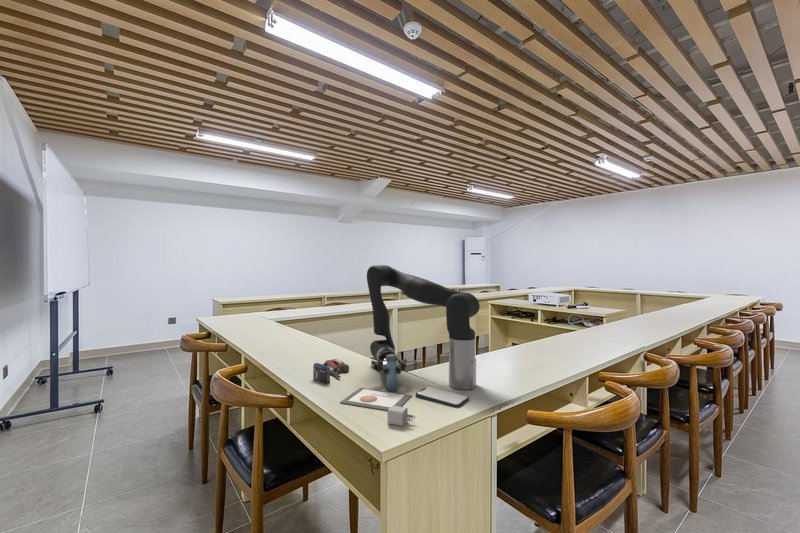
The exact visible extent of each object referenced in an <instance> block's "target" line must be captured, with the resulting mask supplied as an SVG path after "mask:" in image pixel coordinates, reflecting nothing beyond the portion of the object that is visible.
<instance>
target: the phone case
mask: <svg viewBox="0 0 800 533" xmlns="http://www.w3.org/2000/svg"><path fill="white" fill-rule="evenodd" d="M415 397H416V398H418V399H421V400H425V401H428V402H433V403H436V404H440V405H444V406H449V407H452V408H456V409H458V408H461V407H462V406H464V405H465V404H466V403H468V402H469V401H470V400H469V399H470V397H469V396H467V395H464V394H460V393H456V392H451V391H448V390H445V389H441V388H437V387H432V386H425V387H423V388H422V389H420V390H418V391H417V392H416V393H415Z"/></svg>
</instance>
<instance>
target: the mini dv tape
mask: <svg viewBox="0 0 800 533" xmlns="http://www.w3.org/2000/svg"><path fill="white" fill-rule="evenodd" d="M312 367H313V368H312V369H313V372H312V373H313V376H312V378H313V379H312V380H314V381H317V382H319V383H323V384H325V385H328V384H330V383H331V375H330V367H329V366H325V365H323V363H319V362H315V363H313V366H312Z"/></svg>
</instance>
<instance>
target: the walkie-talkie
mask: <svg viewBox="0 0 800 533" xmlns="http://www.w3.org/2000/svg"><path fill="white" fill-rule="evenodd" d="M322 365H325V366H329V367H330V376H331V375H332V376H334V377H336V378H338V379H341V375H339V374H342V373H343V374H344V373H348V372H350V365H349V364H347V363H345V362H344V361H342V359H337V358H333V359H329V360H325V361H324V363H322Z"/></svg>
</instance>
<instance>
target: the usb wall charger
mask: <svg viewBox="0 0 800 533" xmlns="http://www.w3.org/2000/svg"><path fill="white" fill-rule="evenodd" d="M413 419H416V415H413V414H408V407H405V406H404V407H403V406H402V407H399V406H391V407H390V408H389V409H388V411H387V424H388V425H393V426H398V427H404V426H405V425H406V424H407V422H413Z"/></svg>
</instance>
